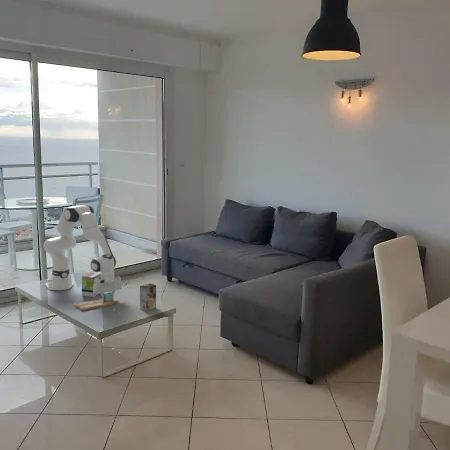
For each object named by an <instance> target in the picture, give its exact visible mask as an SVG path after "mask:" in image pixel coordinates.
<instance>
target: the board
mask: <svg viewBox="0 0 450 450" xmlns="http://www.w3.org/2000/svg"><path fill="white" fill-rule="evenodd" d="M119 301H120V300H118V299H116V298H114V297H113V301H108V302H106V301H104V300H102V297H100V298H97V299H94V300H93V299H92V300H87V301H84V302H79V303H75V304H74V308H76V309H78V310H80V311H81V312H86V311H90V310H94V309H100V308H104V307H108V306H112V305H118V304H119V303H120V302H119Z"/></svg>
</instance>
